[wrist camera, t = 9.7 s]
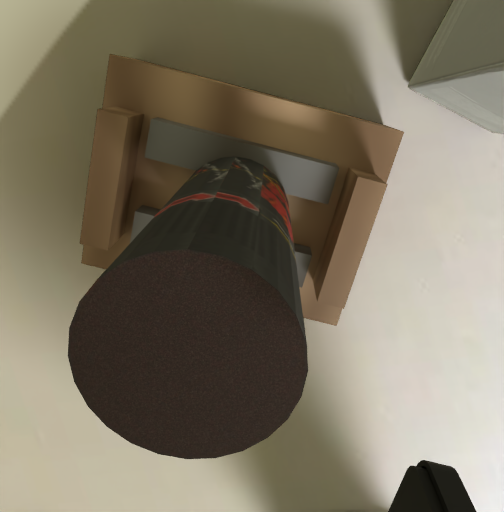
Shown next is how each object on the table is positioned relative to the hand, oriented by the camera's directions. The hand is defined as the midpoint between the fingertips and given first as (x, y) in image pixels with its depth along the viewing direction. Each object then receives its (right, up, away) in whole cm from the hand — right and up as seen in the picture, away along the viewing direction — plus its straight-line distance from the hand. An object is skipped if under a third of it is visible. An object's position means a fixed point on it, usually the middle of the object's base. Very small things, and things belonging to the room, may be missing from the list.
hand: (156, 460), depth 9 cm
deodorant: (+1, +6, +17) cm, 18 cm away
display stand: (+1, +9, +23) cm, 25 cm away
